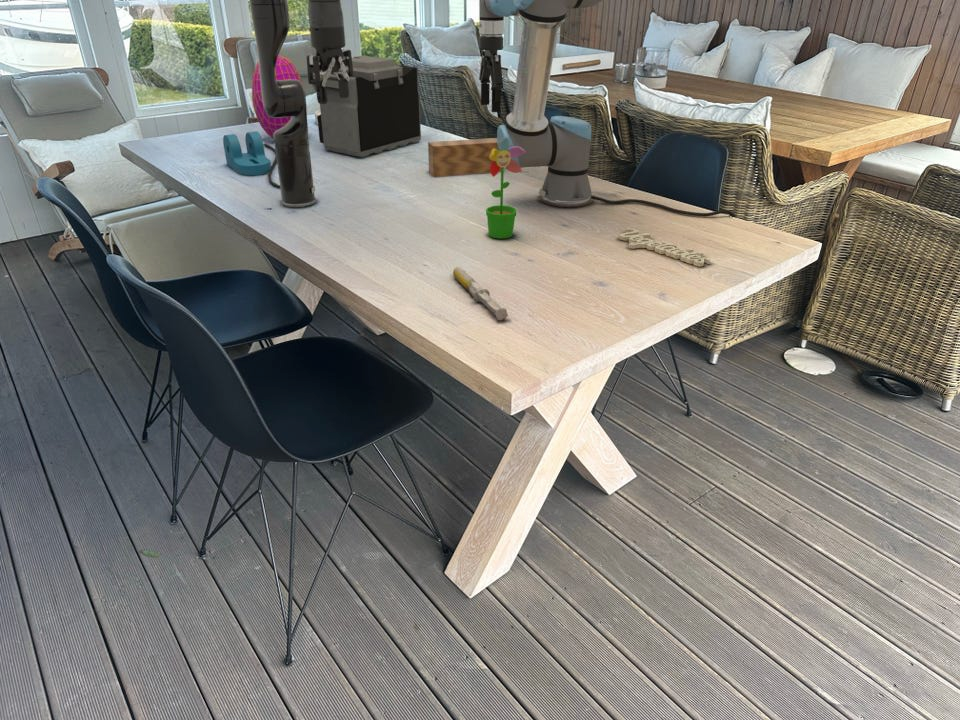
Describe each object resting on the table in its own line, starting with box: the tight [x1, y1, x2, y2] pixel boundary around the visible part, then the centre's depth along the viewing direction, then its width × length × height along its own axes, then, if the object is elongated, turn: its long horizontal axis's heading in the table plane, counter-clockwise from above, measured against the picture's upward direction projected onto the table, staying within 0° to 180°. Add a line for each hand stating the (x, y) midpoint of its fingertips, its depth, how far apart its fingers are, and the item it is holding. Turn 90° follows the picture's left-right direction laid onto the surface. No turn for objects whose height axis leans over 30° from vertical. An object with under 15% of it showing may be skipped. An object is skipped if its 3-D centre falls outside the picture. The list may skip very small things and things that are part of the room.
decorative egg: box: [251, 54, 305, 140], centre depth 257 cm, size 19×19×30 cm
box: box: [427, 137, 501, 178], centre depth 226 cm, size 24×6×10 cm, turn 108°
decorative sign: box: [618, 227, 711, 267], centre depth 169 cm, size 26×1×10 cm
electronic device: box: [311, 55, 422, 159], centre depth 250 cm, size 37×22×30 cm, turn 144°
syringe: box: [452, 266, 509, 321], centre depth 145 cm, size 25×4×3 cm, turn 21°
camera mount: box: [222, 131, 272, 176], centre depth 226 cm, size 18×10×10 cm, turn 35°
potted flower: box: [485, 137, 526, 239], centre depth 171 cm, size 9×8×25 cm
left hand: (333, 100), depth 161 cm, fingers open, 8 cm apart
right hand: (490, 108), depth 221 cm, fingers open, 13 cm apart
